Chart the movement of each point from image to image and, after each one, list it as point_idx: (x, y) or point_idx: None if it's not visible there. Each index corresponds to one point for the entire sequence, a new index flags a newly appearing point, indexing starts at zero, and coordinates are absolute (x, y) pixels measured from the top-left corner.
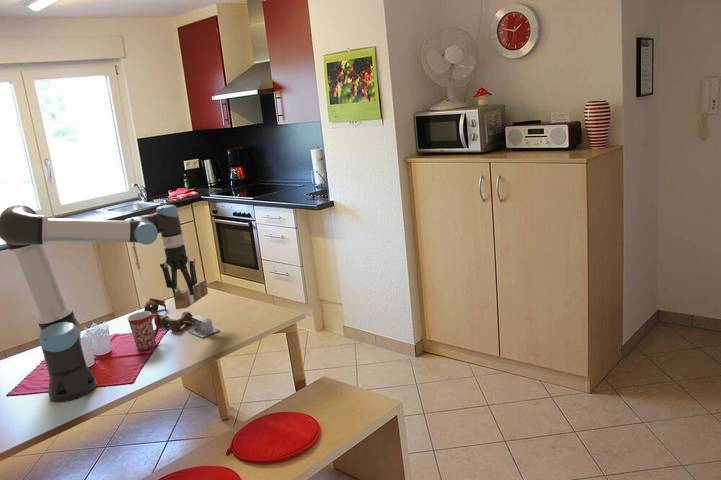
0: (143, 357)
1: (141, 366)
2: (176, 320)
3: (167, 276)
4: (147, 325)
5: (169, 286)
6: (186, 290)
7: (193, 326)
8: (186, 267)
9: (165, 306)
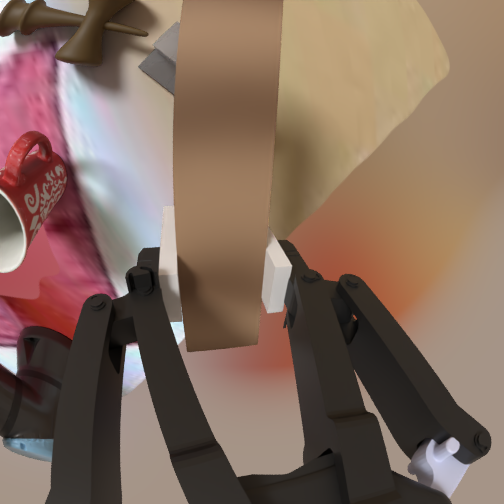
0: (79, 244)
1: (109, 288)
2: (82, 48)
3: (118, 430)
4: (37, 228)
5: (124, 345)
6: (250, 280)
7: (157, 51)
8: (373, 430)
9: None
